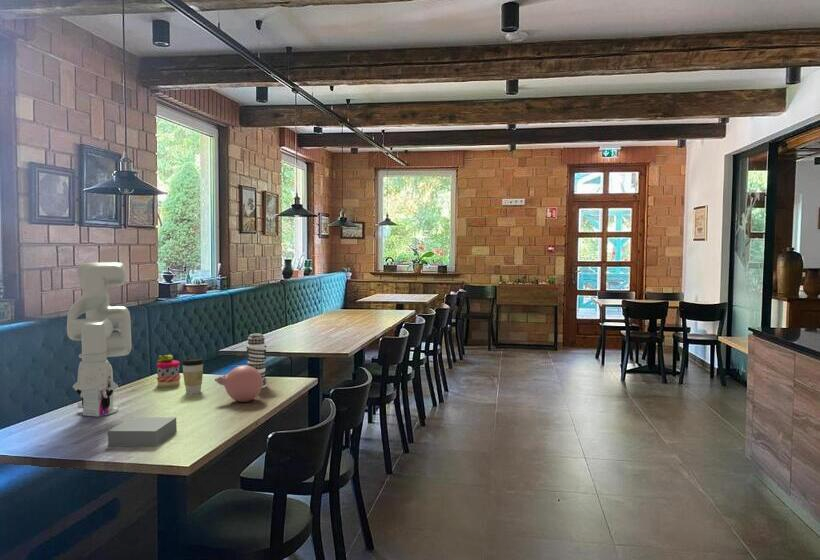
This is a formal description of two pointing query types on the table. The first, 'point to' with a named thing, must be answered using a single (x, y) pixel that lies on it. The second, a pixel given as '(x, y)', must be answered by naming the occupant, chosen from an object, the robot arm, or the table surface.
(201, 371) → the coffee cup
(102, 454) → the table surface
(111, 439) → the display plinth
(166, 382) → the cake
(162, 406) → the table surface
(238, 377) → the balloon
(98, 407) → the supplement box
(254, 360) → the striped thermos bottle
